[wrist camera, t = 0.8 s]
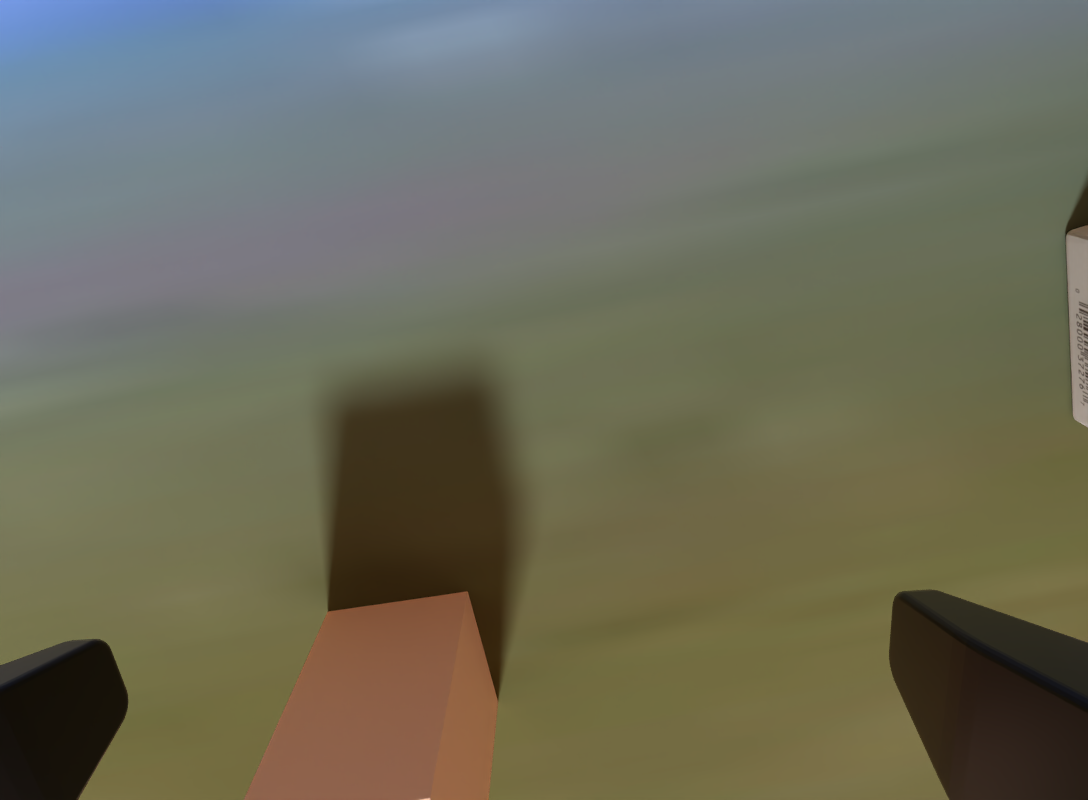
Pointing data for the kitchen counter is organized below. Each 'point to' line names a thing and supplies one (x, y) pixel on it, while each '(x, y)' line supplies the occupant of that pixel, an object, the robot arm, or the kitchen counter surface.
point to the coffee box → (1078, 318)
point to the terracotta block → (387, 709)
